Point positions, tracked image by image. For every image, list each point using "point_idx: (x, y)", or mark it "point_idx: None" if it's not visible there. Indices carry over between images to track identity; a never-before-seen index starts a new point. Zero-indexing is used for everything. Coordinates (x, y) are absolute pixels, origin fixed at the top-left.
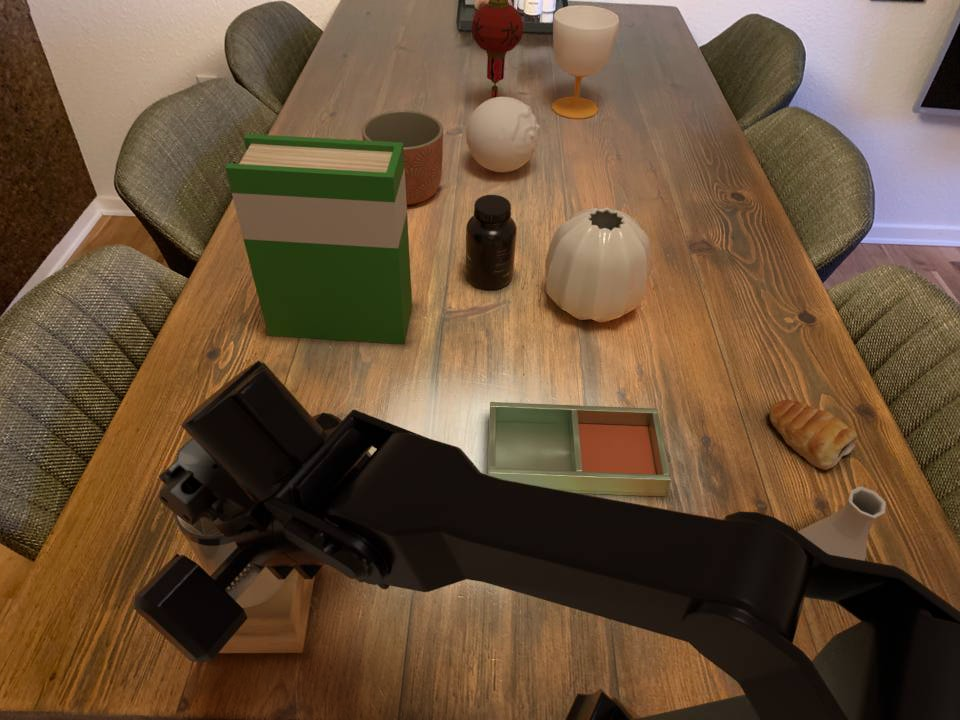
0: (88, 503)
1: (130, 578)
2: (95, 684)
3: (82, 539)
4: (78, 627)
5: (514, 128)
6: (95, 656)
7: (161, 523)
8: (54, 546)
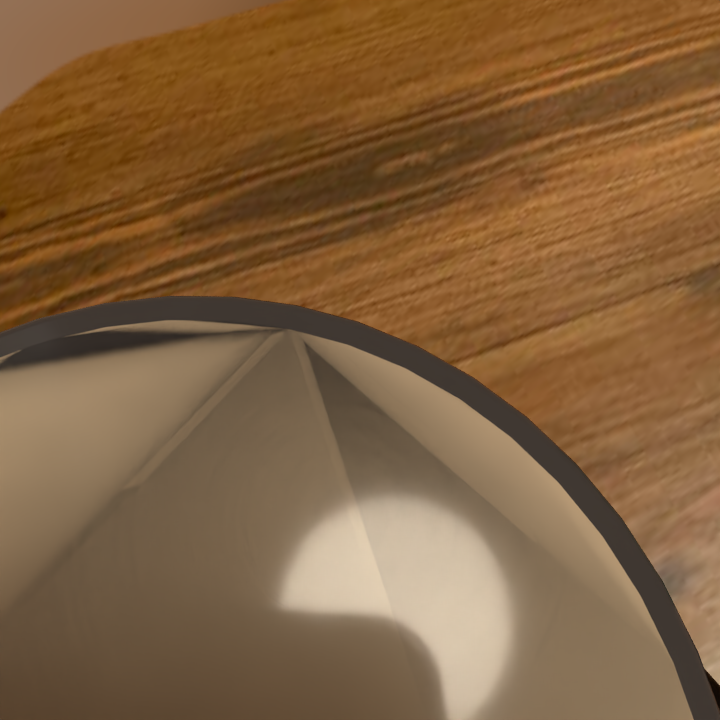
0: (371, 3)
1: (251, 208)
2: (7, 309)
3: (290, 52)
4: (108, 187)
5: None
6: (63, 265)
7: (402, 178)
8: (252, 14)
